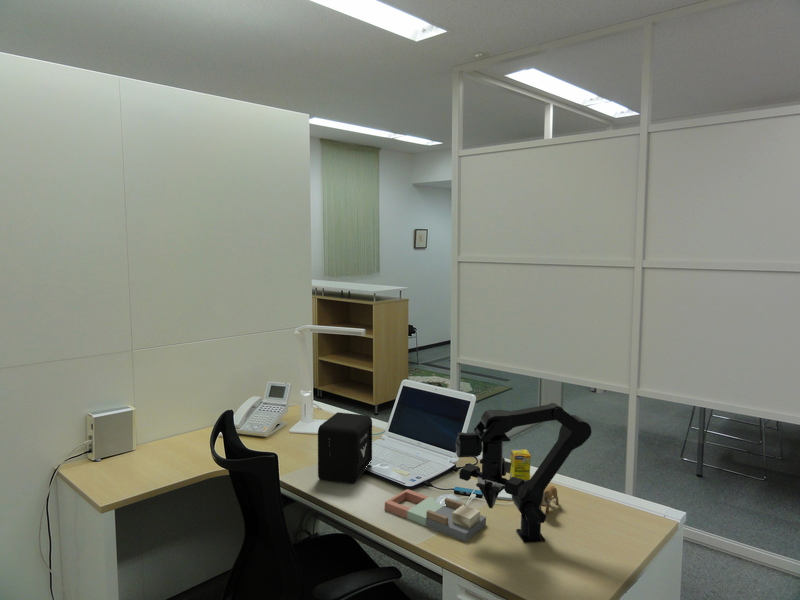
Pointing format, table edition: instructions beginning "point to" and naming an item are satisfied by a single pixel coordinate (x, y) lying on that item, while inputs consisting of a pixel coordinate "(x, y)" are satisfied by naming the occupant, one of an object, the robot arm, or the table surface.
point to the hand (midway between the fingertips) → (491, 507)
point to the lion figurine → (549, 497)
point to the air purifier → (344, 447)
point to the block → (466, 516)
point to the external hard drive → (504, 496)
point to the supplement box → (520, 464)
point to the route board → (433, 514)
